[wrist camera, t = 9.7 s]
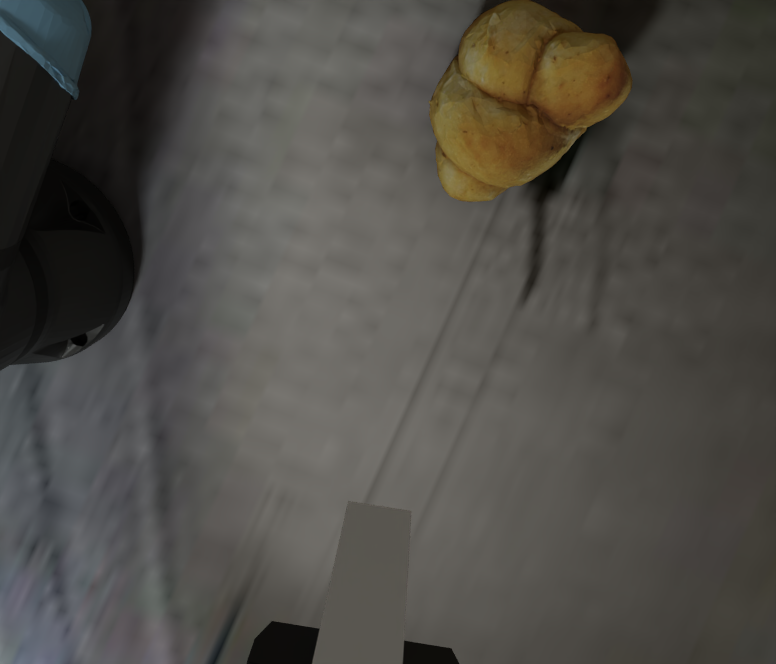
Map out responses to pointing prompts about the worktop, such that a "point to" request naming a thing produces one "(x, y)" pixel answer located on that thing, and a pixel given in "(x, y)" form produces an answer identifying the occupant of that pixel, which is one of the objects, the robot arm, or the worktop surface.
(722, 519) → the worktop surface
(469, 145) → the bread roll
